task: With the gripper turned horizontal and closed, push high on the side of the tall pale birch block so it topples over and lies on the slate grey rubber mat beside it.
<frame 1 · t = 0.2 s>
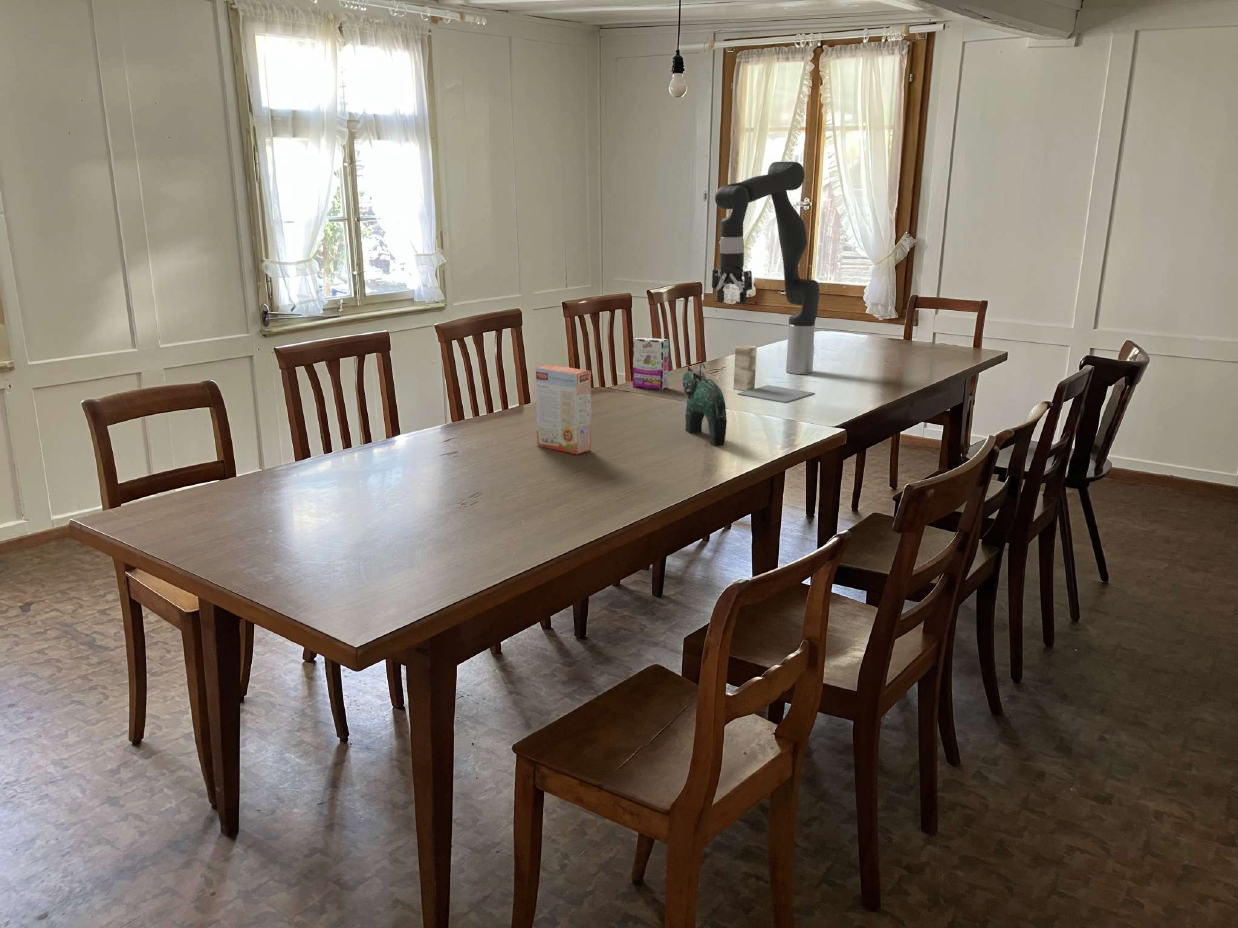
hand: (731, 303, 312), 29 cm above the table, tool pointing down, fingers open, 8 cm apart
cracker box: (564, 449, 250), on the table
slate rubber mat: (776, 394, 316), on the table
birch block: (744, 388, 323), on the table
green animal figurine: (705, 438, 262), on the table
candy bar box: (650, 388, 324), on the table
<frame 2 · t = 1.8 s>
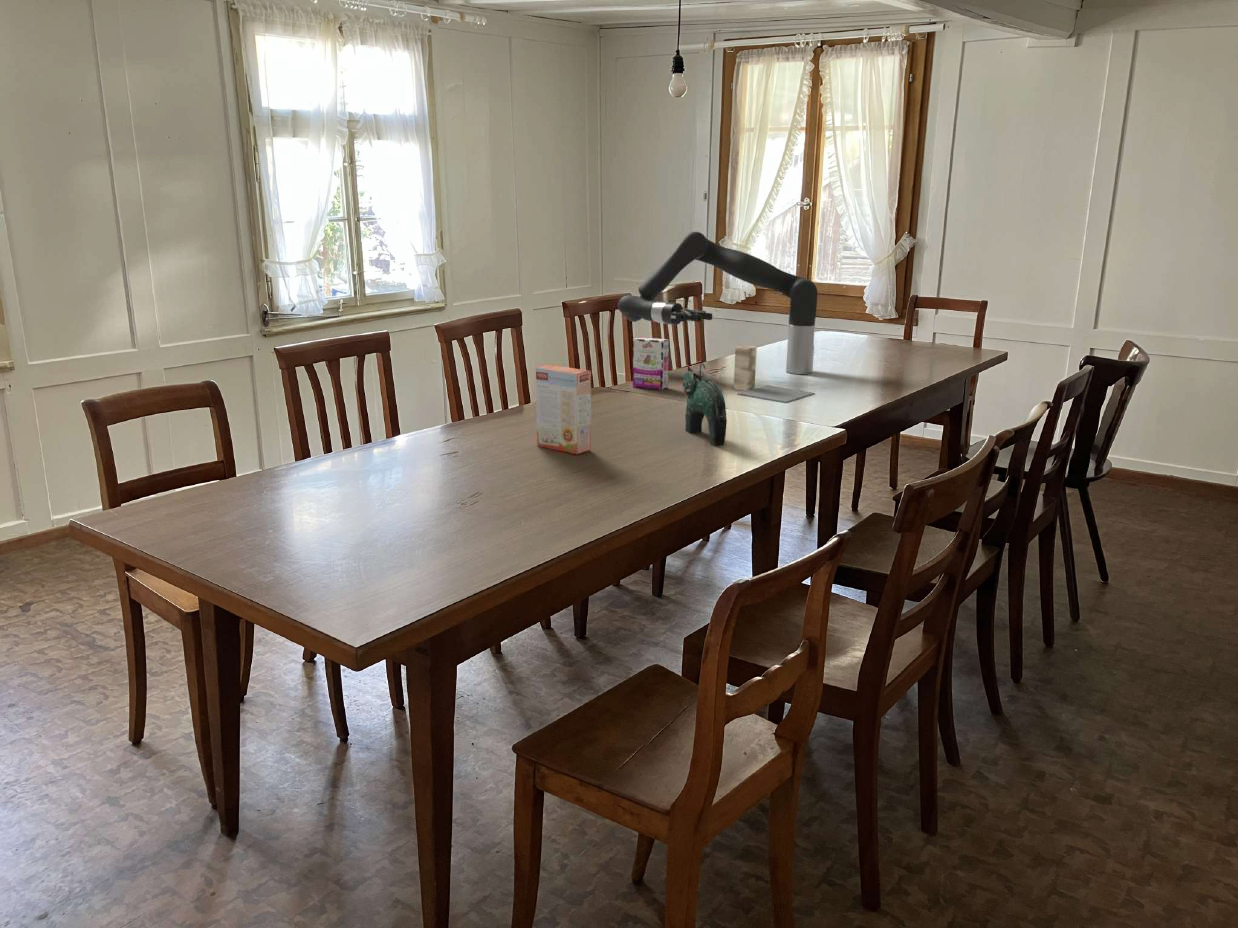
hand: (706, 317, 328), 22 cm above the table, tool horizontal, fingers open, 5 cm apart
nothing on the table moved.
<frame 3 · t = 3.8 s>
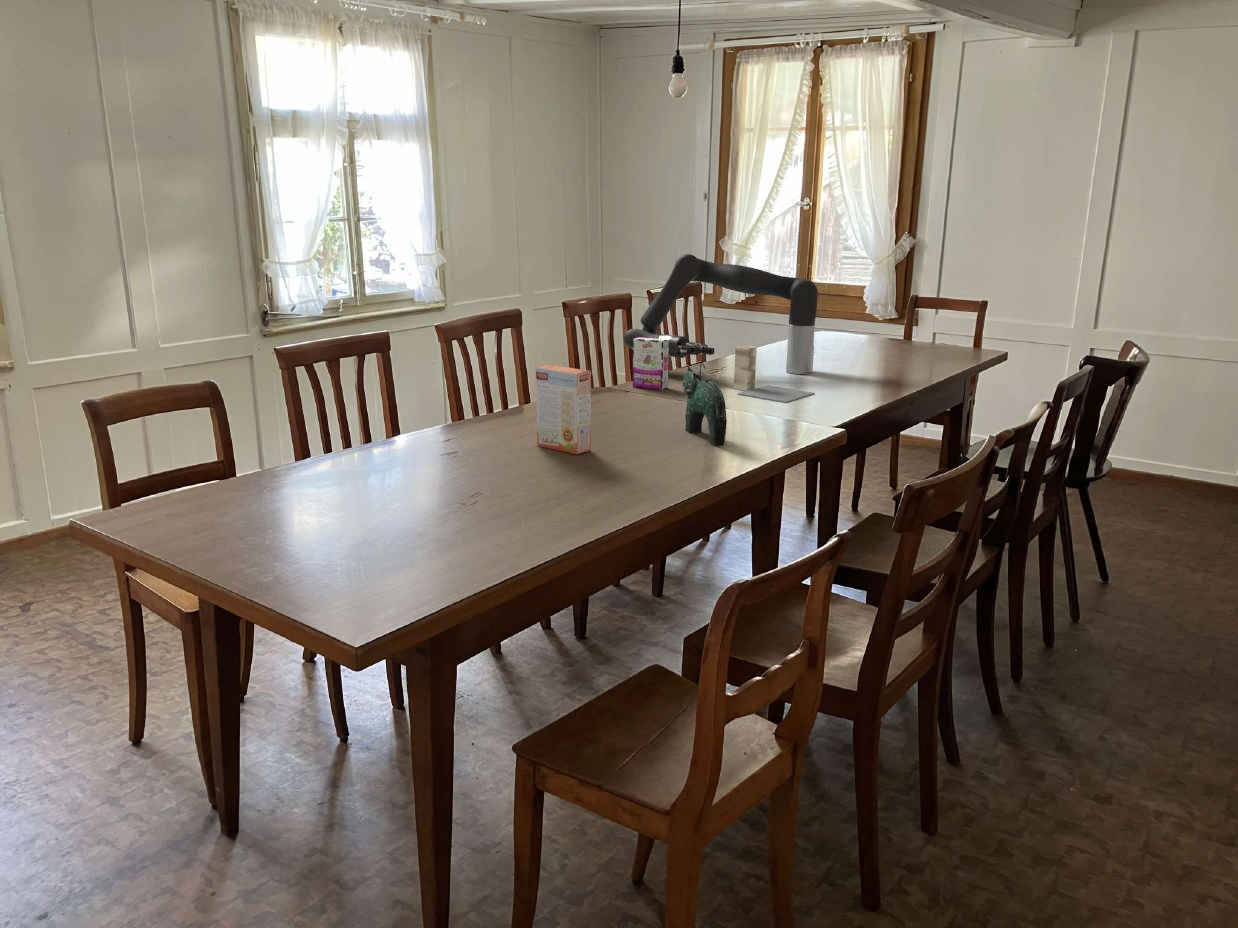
hand: (713, 351, 329), 11 cm above the table, tool horizontal, fingers closed
nothing on the table moved.
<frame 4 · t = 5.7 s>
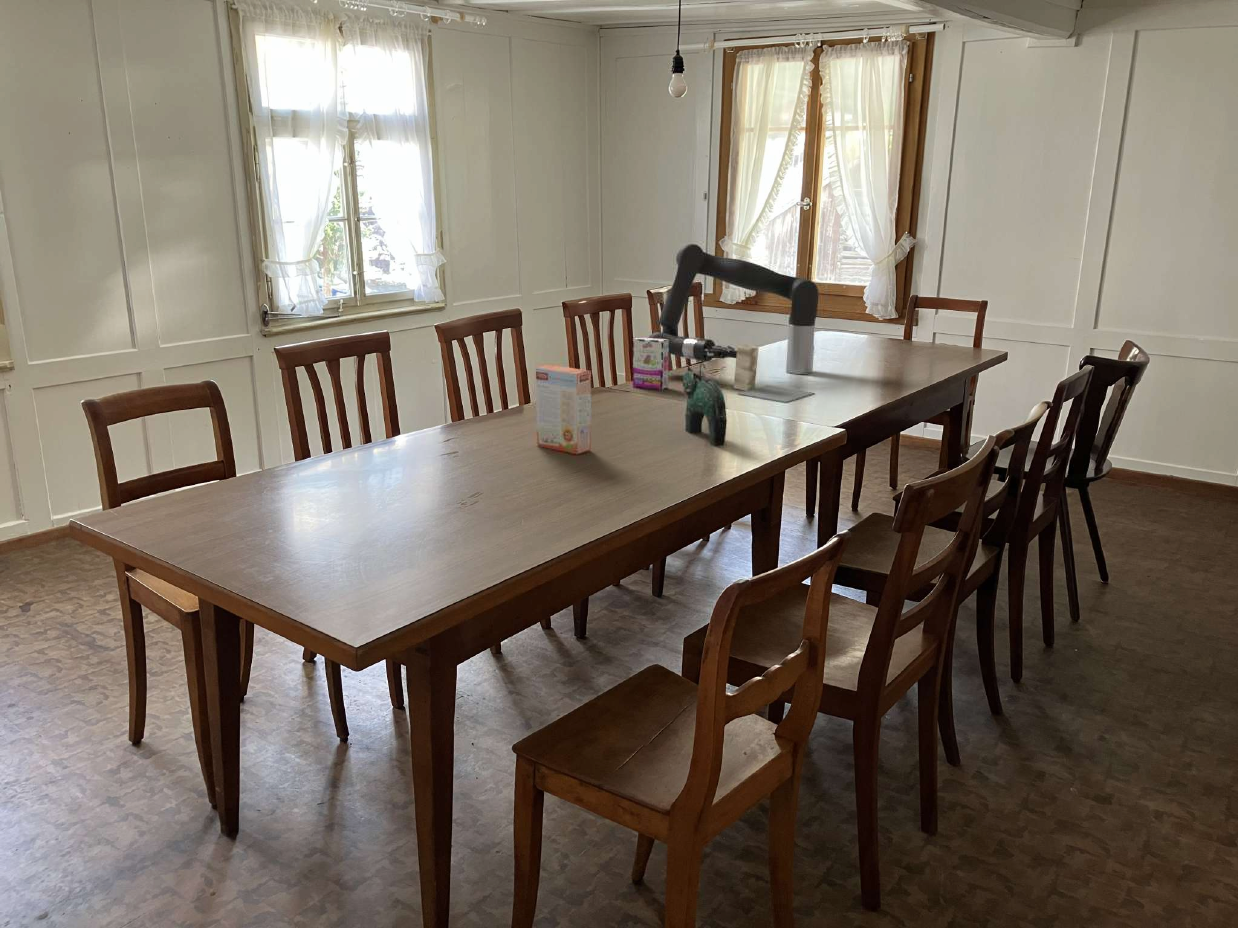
hand: (740, 355, 322), 11 cm above the table, tool horizontal, fingers closed
nothing on the table moved.
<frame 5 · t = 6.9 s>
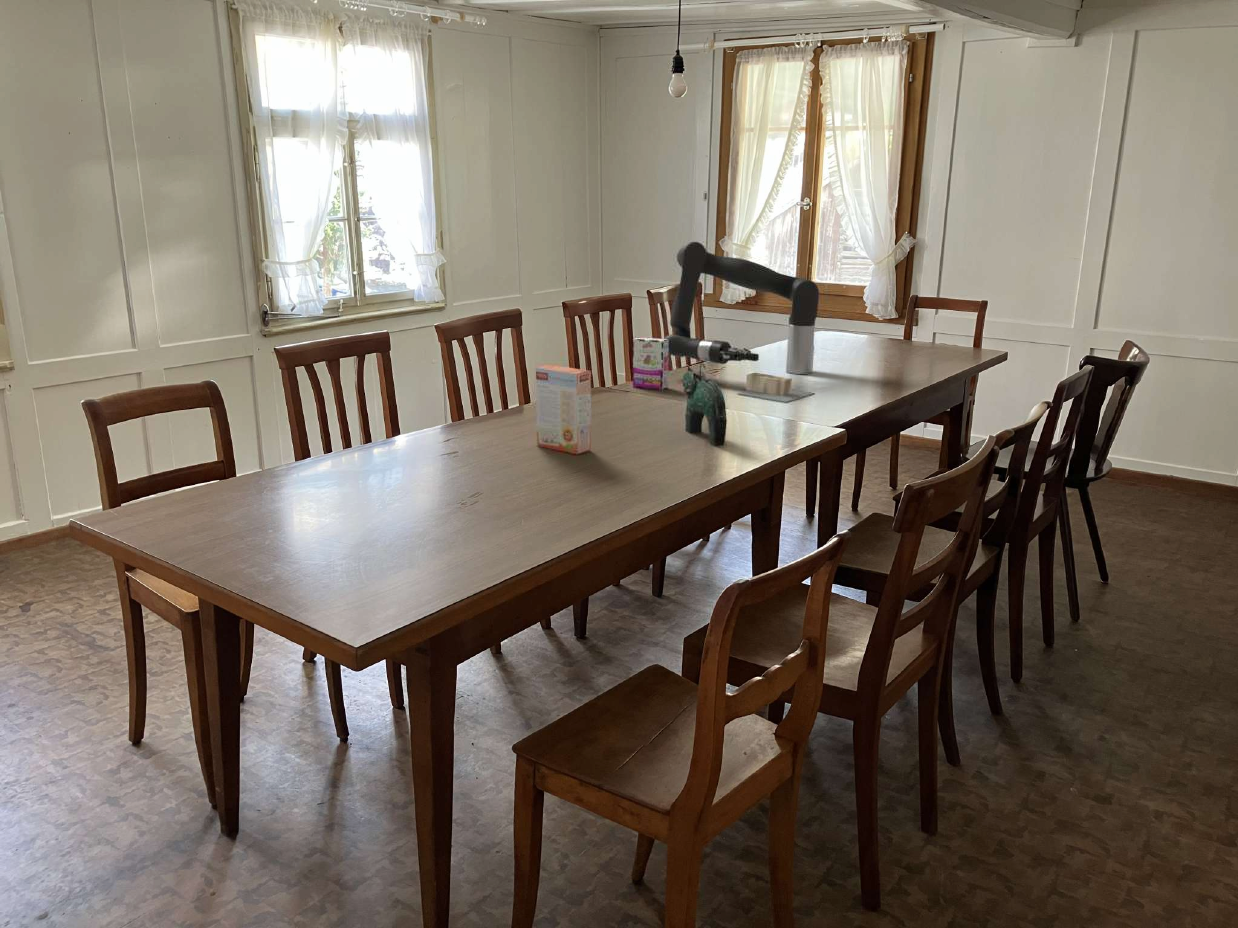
hand: (757, 357, 317), 11 cm above the table, tool horizontal, fingers closed
birch block: (750, 381, 321), point 3 cm above the table, tilted 90°, touching slate rubber mat
everything else where it was.
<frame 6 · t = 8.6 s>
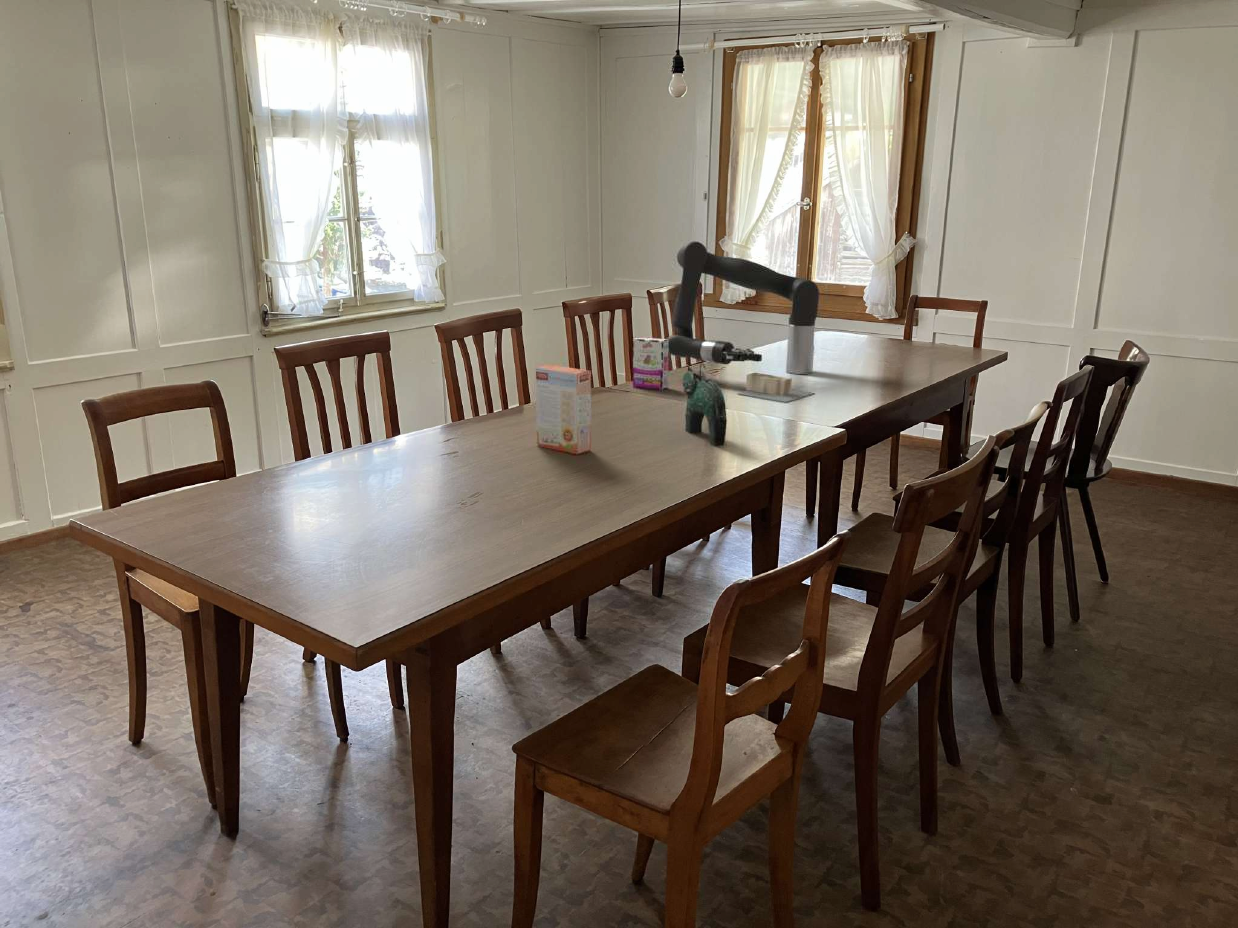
hand: (760, 358, 317), 11 cm above the table, tool horizontal, fingers closed
nothing on the table moved.
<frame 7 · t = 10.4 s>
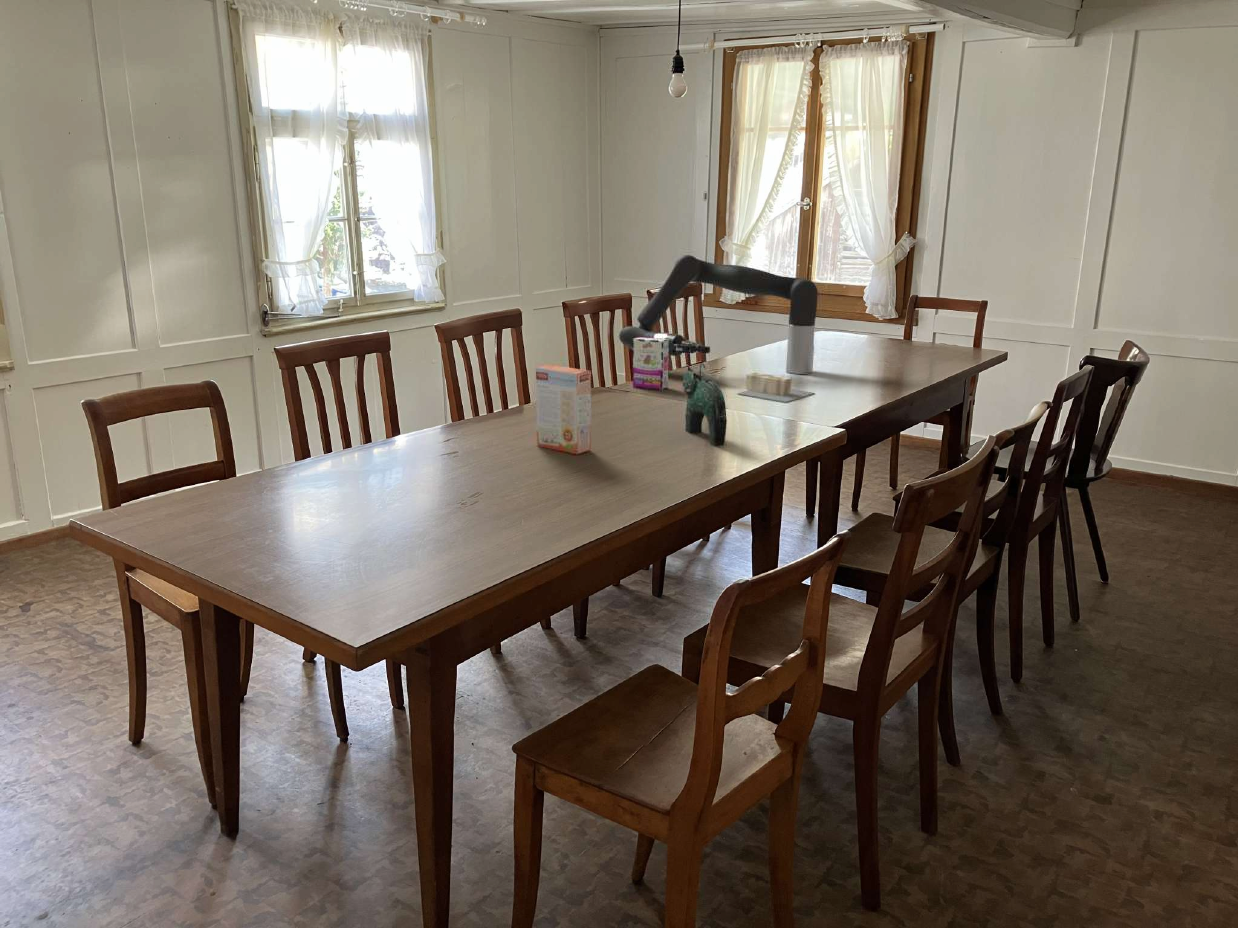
hand: (708, 350, 330), 11 cm above the table, tool horizontal, fingers closed
nothing on the table moved.
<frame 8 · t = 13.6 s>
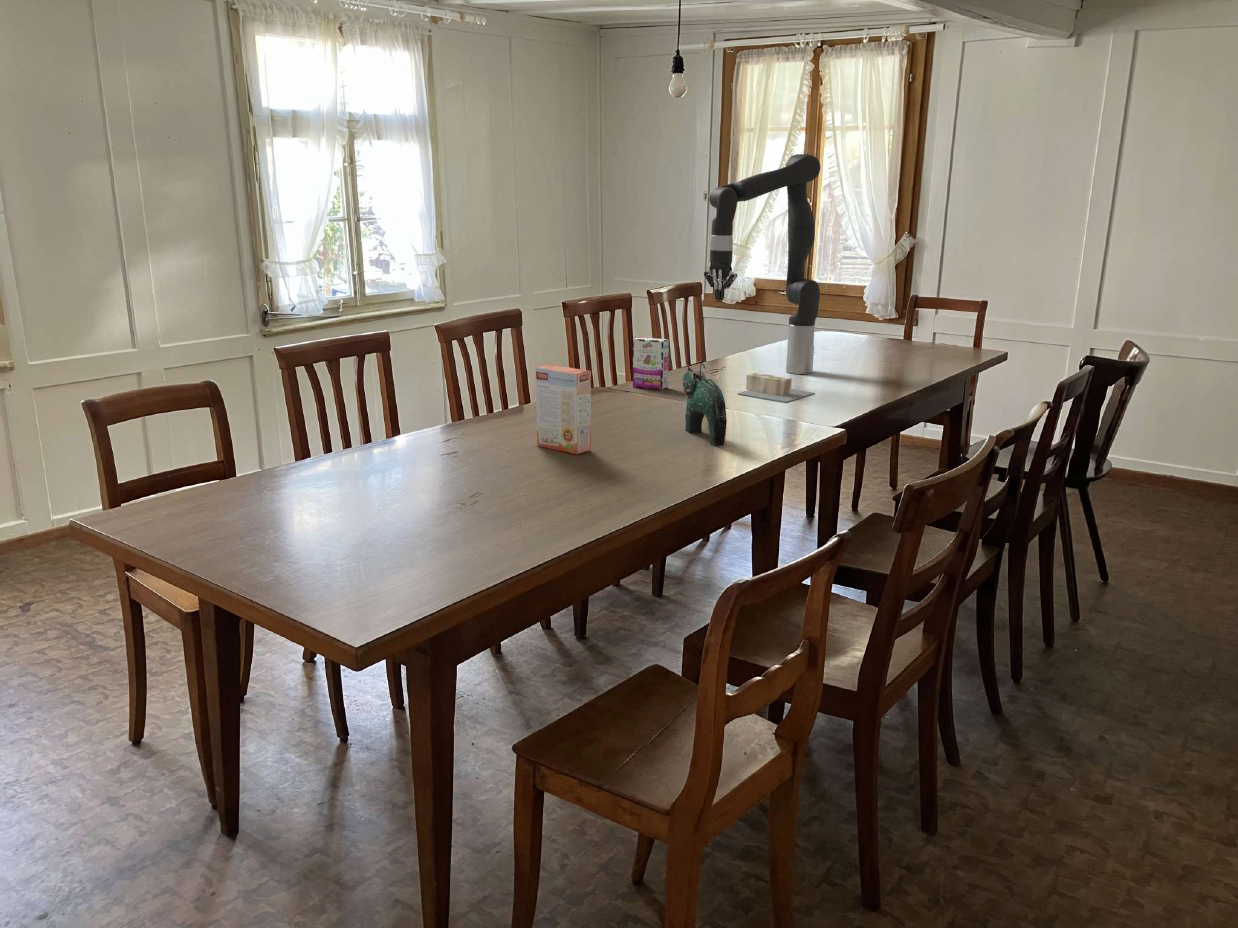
hand: (719, 300, 332), 27 cm above the table, tool pointing down, fingers closed
nothing on the table moved.
at the end: birch block tilted 90°; birch block touching slate rubber mat; birch block inside the target area (1.6 cm from its centre), point 2.9 cm above the table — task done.
